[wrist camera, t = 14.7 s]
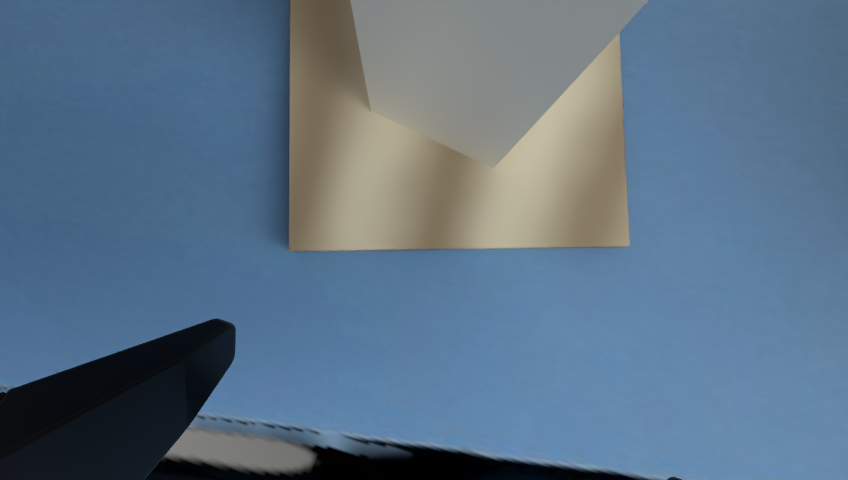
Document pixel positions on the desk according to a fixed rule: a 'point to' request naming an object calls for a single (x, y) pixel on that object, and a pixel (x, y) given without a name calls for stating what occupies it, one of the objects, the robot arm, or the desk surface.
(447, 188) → the post stand
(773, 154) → the desk surface
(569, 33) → the tall white pillar
